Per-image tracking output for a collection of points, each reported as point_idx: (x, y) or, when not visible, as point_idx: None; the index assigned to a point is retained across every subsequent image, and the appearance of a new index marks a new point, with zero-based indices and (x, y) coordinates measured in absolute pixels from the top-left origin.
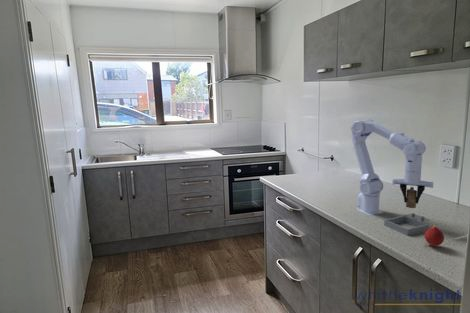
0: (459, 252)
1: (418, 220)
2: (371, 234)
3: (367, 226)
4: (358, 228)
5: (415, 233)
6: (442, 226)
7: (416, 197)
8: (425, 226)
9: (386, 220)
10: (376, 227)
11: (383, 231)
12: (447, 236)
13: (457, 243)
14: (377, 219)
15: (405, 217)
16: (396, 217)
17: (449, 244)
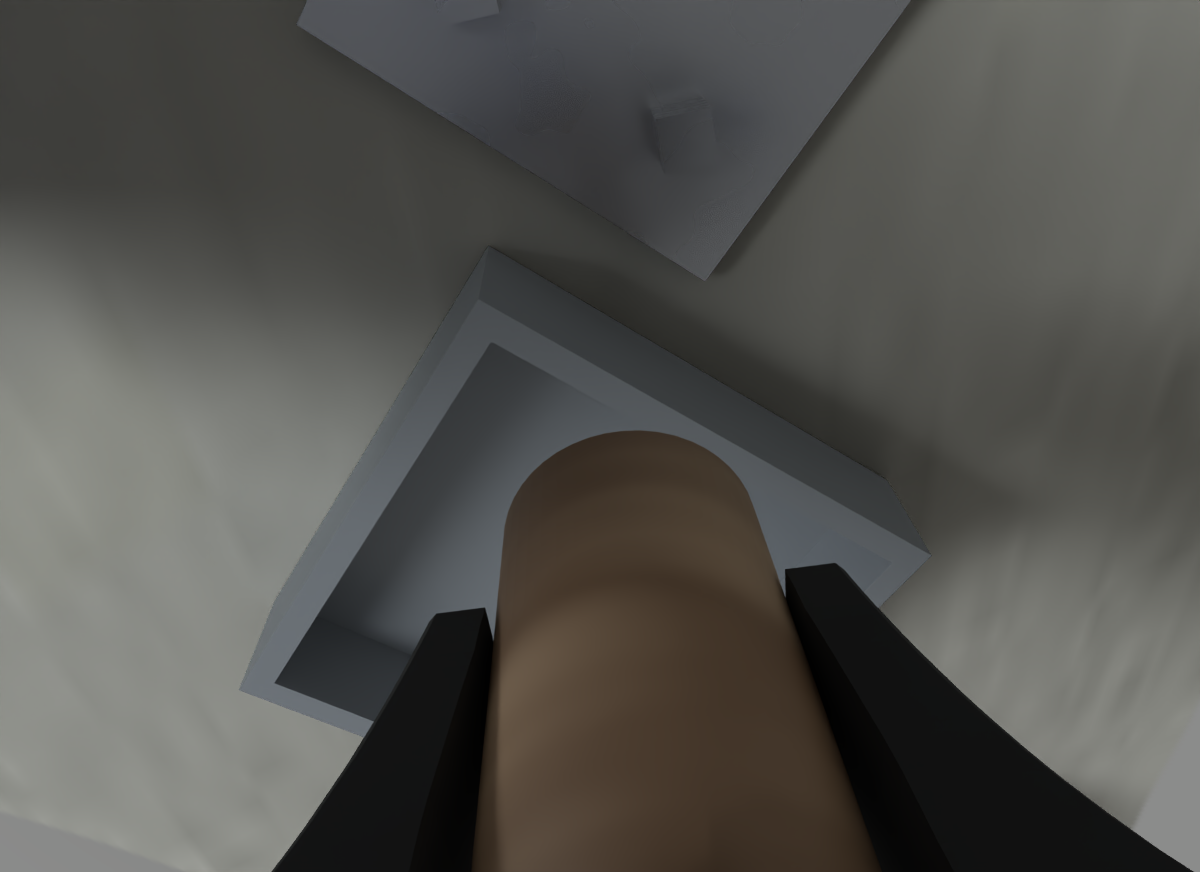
0: (1128, 819)
1: (748, 62)
2: (253, 863)
3: (79, 700)
4: (29, 801)
5: None
6: (1177, 82)
7: (837, 670)
8: (873, 593)
9: (277, 698)
10: (197, 674)
11: (333, 740)
12: (1128, 502)
13: (1185, 645)
14: (24, 356)
15: (514, 345)
16: (369, 489)
17: (1082, 708)
